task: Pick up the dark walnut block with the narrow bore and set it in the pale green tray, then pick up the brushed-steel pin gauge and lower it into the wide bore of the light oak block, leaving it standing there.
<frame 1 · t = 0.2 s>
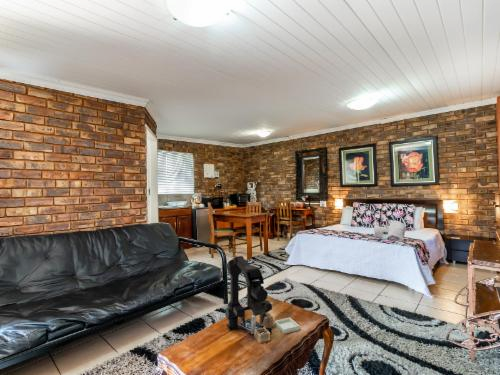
hand: (253, 324, 135), 14 cm above the table, fingers open, 9 cm apart
walnut block: (266, 325, 161), on the table
pin gauge: (253, 332, 153), on the table
tray: (286, 327, 158), on the table
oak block: (262, 338, 147), on the table
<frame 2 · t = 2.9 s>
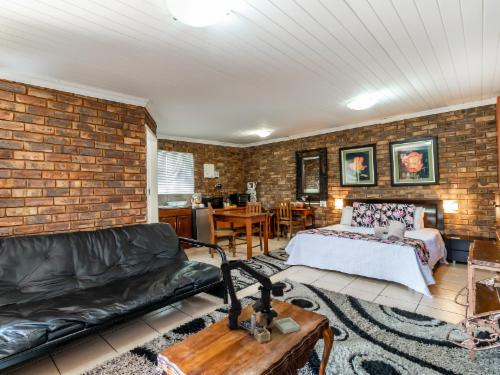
hand: (266, 323, 161), 2 cm above the table, fingers closed on walnut block, 6 cm apart
walnut block: (266, 325, 161), on the table, touching gripper
everything else where it was.
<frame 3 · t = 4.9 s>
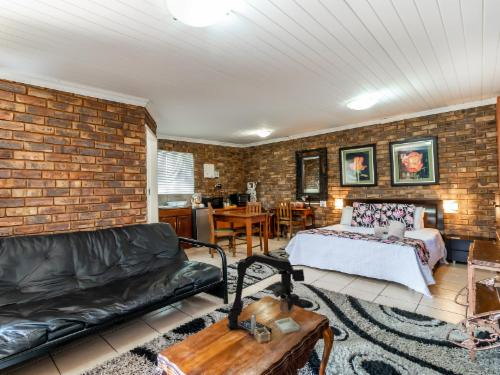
hand: (286, 307, 158), 12 cm above the table, fingers closed on walnut block, 6 cm apart
walnut block: (286, 310, 158), point 10 cm above the table, touching gripper
everything else where it was.
when the fingers open (4 cm above the table, at t = 6.8 s): walnut block drops 1 cm, resting on tray.
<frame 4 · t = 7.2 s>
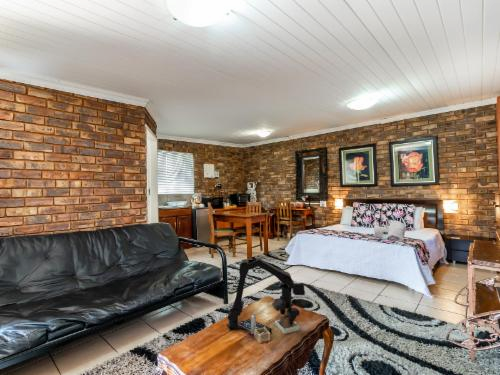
hand: (286, 321, 158), 4 cm above the table, fingers open, 9 cm apart
walnut block: (286, 326, 158), point 1 cm above the table, touching tray
everything else where it was.
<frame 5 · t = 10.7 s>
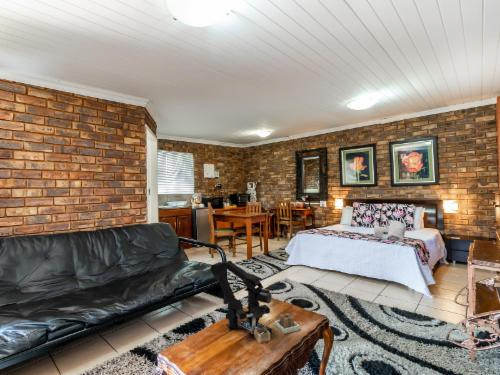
hand: (253, 326, 153), 4 cm above the table, fingers closed on pin gauge, 3 cm apart
pin gauge: (253, 332, 153), on the table, touching gripper
everything else where it was.
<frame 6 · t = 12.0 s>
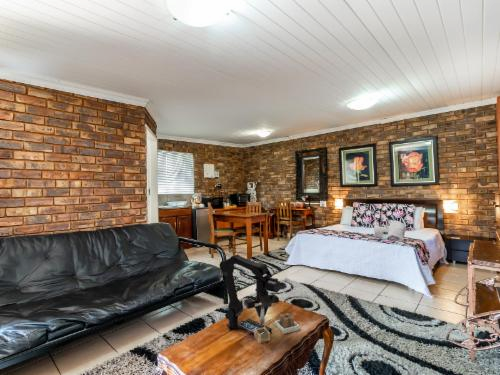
hand: (261, 316, 147), 12 cm above the table, fingers closed on pin gauge, 3 cm apart
pin gauge: (262, 323, 147), point 8 cm above the table, touching gripper
everything else where it was.
when the fingers open (5 cm above the table, at t = 13.8 s): pin gauge drops 1 cm, resting in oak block.
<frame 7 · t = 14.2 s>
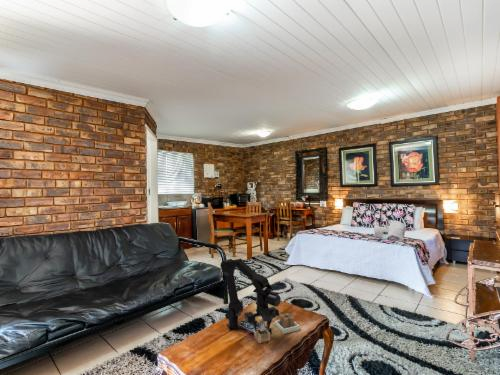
hand: (262, 329, 147), 5 cm above the table, fingers open, 7 cm apart
pin gauge: (262, 338, 147), resting in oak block
everything else where it was.
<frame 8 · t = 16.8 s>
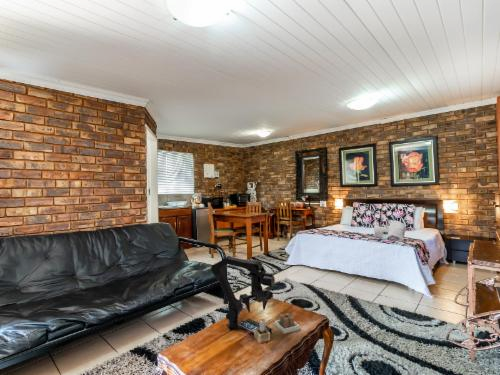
hand: (256, 311, 154), 12 cm above the table, fingers open, 9 cm apart
nothing on the table moved.
at the end: walnut block inside the target area on the tray (0.1 cm from its centre), point 0.6 cm above the tray's base; pin gauge 0.0 cm from the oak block (horizontally); pin gauge resting in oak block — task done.
